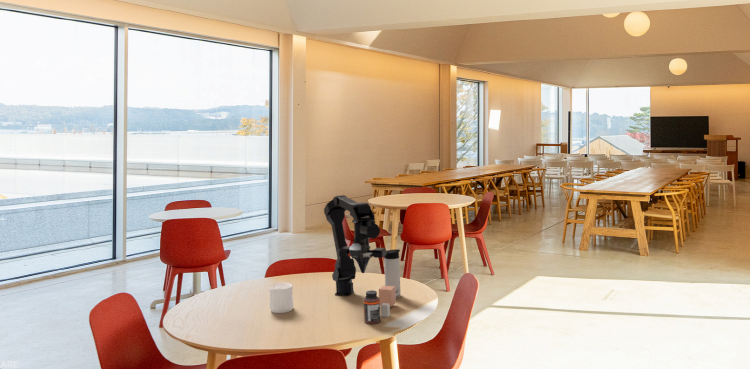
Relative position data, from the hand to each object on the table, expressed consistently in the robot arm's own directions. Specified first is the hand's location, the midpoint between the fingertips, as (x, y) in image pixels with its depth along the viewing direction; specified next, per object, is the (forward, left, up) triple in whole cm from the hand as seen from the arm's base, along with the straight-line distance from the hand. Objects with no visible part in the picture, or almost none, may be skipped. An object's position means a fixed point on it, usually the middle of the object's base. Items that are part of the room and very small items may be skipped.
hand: (363, 273), depth 232 cm
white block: (+13, -11, -13) cm, 21 cm away
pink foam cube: (+10, 0, -12) cm, 16 cm away
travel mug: (+8, +13, -13) cm, 20 cm away
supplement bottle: (+10, -18, -13) cm, 25 cm away
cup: (-30, -14, -13) cm, 36 cm away
